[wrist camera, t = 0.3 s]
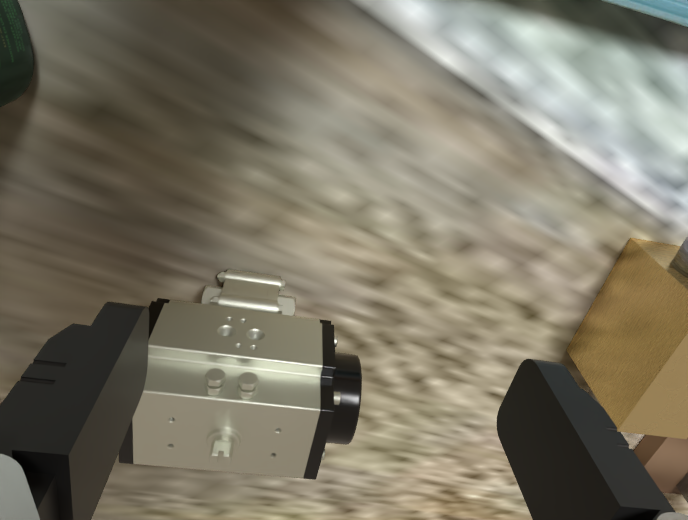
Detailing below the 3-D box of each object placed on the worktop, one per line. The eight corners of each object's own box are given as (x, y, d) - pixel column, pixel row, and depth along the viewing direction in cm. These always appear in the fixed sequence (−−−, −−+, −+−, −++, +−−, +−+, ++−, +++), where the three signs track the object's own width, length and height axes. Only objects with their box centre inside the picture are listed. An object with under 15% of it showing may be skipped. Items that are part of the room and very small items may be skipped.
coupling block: (642, 215, 29) (724, 281, 24) (709, 227, 30) (805, 295, 24) (556, 365, 36) (605, 448, 30) (614, 372, 36) (672, 455, 30)
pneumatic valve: (337, 333, 33) (347, 505, 23) (153, 310, 31) (74, 483, 21) (355, 263, 30) (375, 422, 20) (154, 233, 29) (63, 390, 18)
